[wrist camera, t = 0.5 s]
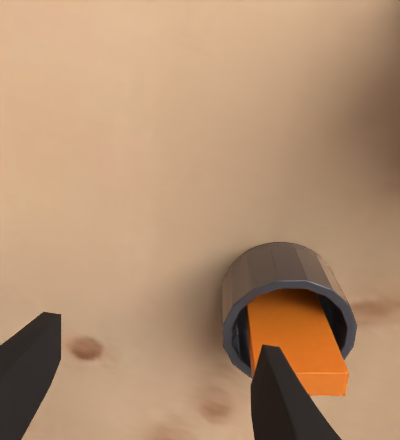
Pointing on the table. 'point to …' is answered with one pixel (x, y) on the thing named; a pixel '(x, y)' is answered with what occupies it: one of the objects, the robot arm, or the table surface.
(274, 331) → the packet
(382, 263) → the table surface
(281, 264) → the cup
